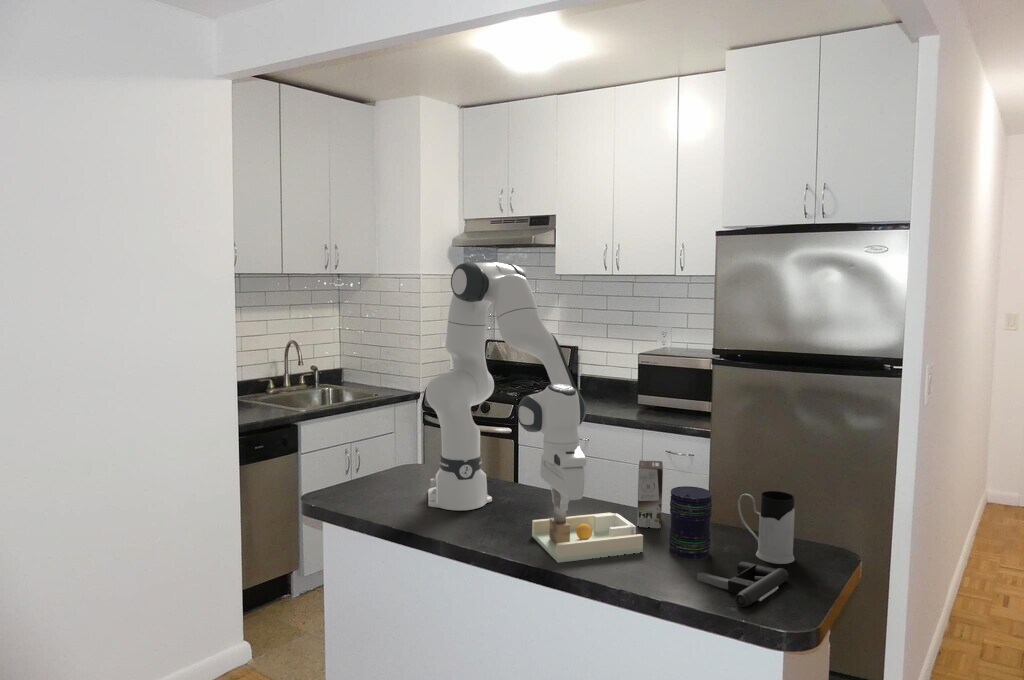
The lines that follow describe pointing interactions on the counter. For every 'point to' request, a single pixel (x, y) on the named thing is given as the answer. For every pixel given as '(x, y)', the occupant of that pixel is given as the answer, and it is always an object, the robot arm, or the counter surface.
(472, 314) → the robot arm
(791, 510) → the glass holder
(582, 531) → the ball
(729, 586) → the door handle
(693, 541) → the storage jar
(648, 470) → the coffee box
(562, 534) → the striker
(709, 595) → the counter surface
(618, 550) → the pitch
